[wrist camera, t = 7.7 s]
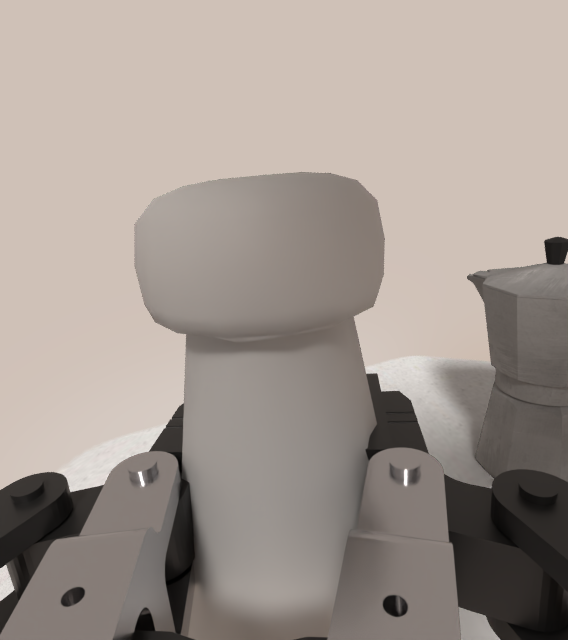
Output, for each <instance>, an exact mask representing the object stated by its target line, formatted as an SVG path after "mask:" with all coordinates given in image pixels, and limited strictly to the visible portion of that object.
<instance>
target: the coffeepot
mask: <svg viewBox="0 0 568 640" xmlns="http://www.w3.org/2000/svg"><path fill="white" fill-rule="evenodd" d="M544 243H545V251H546V259H547V263H543V264H537V265H531V266H526V267H520V268H519V267H517V268H505V269H492V270H487V271H479V272H476V273H474V274H473V275H471V274H469V275H468V276H467V279H468V280H470V281H471V282H473V283H474V285H475V286H476V288H477V290H478V292H479V294H480V296H481V297H482V299H483V301H484V304H485V312H486V322H487V331H488V340H489V349H490V358H491V365H492V366H494V367H495V368H496V375H495V382H494V385H493V389H492V393H491V397H490V401H489V405H488V408H487V412H486V416H485V420H484V424H483V428H482V432H481V436H480V440H479V444H478V448H477V451H476V455H475V458H476V459H477V461H478V462H479V463H480V464H481V465H482V467H483V468H484V469H485V470H486V471H487V472H488V473H489V474H490V475H491V476H492V477H494V478H496V477H497V476H498V475H499V474H501V473H503V472H506V471H510V470H516V469H528V470H536V471H541V472H545V473H548V474H551V475H554V476H556V477H559V478H561V479H563V480H565V481H566V482H568V264H565V263H564V261H565V258H566V255H567V252H568V239H565V238H562V237H554V238H551V239H547V240H545V241H544Z"/></svg>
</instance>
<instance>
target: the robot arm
mask: <svg viewBox="0 0 568 640" xmlns="http://www.w3.org/2000/svg"><path fill="white" fill-rule="evenodd" d="M366 376H367V380H368V385H369V390H370V394H371V399H372V403H373V408H374V412H375V417H376V422H377V425H376V426H375V428H374V430H373V431H372V433H371V435H370V437H369V443H368V448H367V449H365V450H366V454H367V457H368V460H369V463H368V467H367V473H366V478H365V484H364V490H363V495H362V501H361V507H360V512H359V518H358V524H357V529H350V531H349V534H348V537H347V542H346V547H345V552H344V557H343V562H342V568H341V573H340V578H339V583H338V588H337V593H336V598H335V603H334V608H333V613H332V618H331V623H330V628H329V633H328V637H303V638H299V639H294V640H461V633H460V622H459V610H458V607H460V608H464V609H467V610H470V611H473V612H476V613H479V614H483V615H486V617H487V620H488V622H489V624H490V626H491V628H492V629H493V631H494V632H495V633H496V635H497V636H498V637H499V638H500V639H501V640H568V482H566V481H565V480H563V479H561V478H559V477H556V476H554V475H551V474H548V473H545V472H541V471H536V470H528V469H516V470H510V471H506V472H503V473H501V474H499V475H498V476H497V477H496V478H495V479H494V481H493V483H492V489H490V488H485V487H480V486H475V485H470V484H466V483H463V482H460V481H457V480H455V479H452V478H450V477H448V476H447V475H445V474H444V471H443V467H442V466H441V464H440V463H439V461H438V460H437V459H435V458H434V457H433V456H431V455H430V454H429V453H428V450H427V447H426V444H425V441H424V438H423V435H422V433H421V430H420V427H419V424H418V421H417V418H416V415H415V413H414V409H413V406H412V403H411V400H409V399H408V398H407V397H406V396H405V395H403V394H402V393H401V392H400V391H386V392H381V389H380V384H379V380H378V375H377V373H376V374H366ZM183 418H184V404H182V405H181V406H179V408H178V409H177V411H176V412H175V414H174V415H173V417H172V420H170V421H169V422H168V424H167V425H166V428H164V430H163V431H162V433H161V434H160V436H159V437H158V439H157V440H156V442H155V443H154V445H153V446H152V448H151V449H150V451H149V452H145V453H141V454H137V455H134V456H132V457H130V458H128V459H126V460H124V461H122V462H121V463H119V464H118V465H117V466H116V467H115V468H114V469H113V470H112V471H111V473H110V474H109V476H108V478H107V480H106V482H105V484H104V485H102V486H98V487H93V488H88V489H84V490H79V491H74V492H70V490H69V486H68V482H67V479H66V477H65V476H64V475H62V474H59V473H54V472H47V473H39V474H34V475H31V476H27V477H25V478H22V479H20V480H18V481H15V482H13V483H12V484H10V485H8V486H6V487H5V488H3V489H1V490H0V568H2V567H3V566H4V565H7V568H8V571H9V574H10V577H11V580H12V583H13V586H14V589H15V590H14V591H13V592H12V593H10V594H9V595H8V596H7V597H5V598H4V599H3V600H2V601H0V640H195V639H192V638H189V637H188V633H189V626H190V619H191V612H192V604H193V597H194V590H195V573H194V563H193V560H194V558H195V551H194V535H193V519H192V507H191V496H190V485H189V482H188V481H186V480H184V479H182V448H183Z"/></svg>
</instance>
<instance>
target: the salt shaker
mask: <svg viewBox="0 0 568 640" xmlns="http://www.w3.org/2000/svg"><path fill="white" fill-rule="evenodd" d="M384 240H385V238H384V233H383V228H382V223H381V218H380V213H379V208H378V202H377V200H376V199H375V198H374V197H373V196H372V195H371V194H370V193H369V192H368V191H367V190H366V189H365V188H364V187H363V186H362V185H361V184H360V183H359V182H358V181H357V180H354V179H350V178H346V177H343V176H339V175H335V174H331V173H309V172H299V173H285V174H272V175H260V176H250V177H240V178H228V179H219V180H213V181H207V182H202V183H197V184H192V185H187V186H183V187H180V188H178V189H176V190H173V191H171V192H169V193H166V194H164V195H162V196H159V197H157V198H155V199H153V200H152V202H151V203H150V205H149V206H148V207H147V209H146V210H145V211H144V213H143V214H142V215H141V216H140V218H139V219H138V220H137V222H136V223H135V269H136V273H137V277H138V281H139V285H140V289H141V293H142V297H143V300H144V304H145V306H146V308H147V309H148V311H149V313H150V314H151V316H152V318H153V319H154V321H155V322H156V323H158V324H160V325H162V326H164V327H166V328H168V329H170V330H172V331H174V332H176V333H182V334H186V358H185V388H184V418H183V448H182V479H184V480H186V481H188V482H189V485H190V496H191V507H192V519H193V535H194V551H195V558H194V560H193V563H194V573H195V590H194V597H193V604H192V612H191V619H190V626H189V633H188V637H189V638H192V639H195V640H294V639H299V638H303V637H328V633H329V628H330V623H331V618H332V613H333V608H334V603H335V598H336V593H337V588H338V583H339V578H340V573H341V568H342V562H343V557H344V552H345V547H346V542H347V537H348V534H349V531H350V529H357V524H358V518H359V512H360V507H361V501H362V495H363V490H364V484H365V478H366V473H367V467H368V463H369V460H368V457H367V454H366V450H365V449H367V448H368V443H369V437H370V435H371V433H372V431H373V430H374V428H375V426H376V425H377V422H376V417H375V412H374V408H373V403H372V399H371V394H370V390H369V385H368V380H367V376H366V371H365V367H364V362H363V358H362V353H361V348H360V344H359V339H358V335H357V330H356V326H355V321H354V316H355V315H357V314H359V313H361V312H363V311H365V310H367V309H369V308H371V307H373V306H374V304H375V301H376V298H377V295H378V292H379V289H380V285H381V282H382V278H383V275H384Z"/></svg>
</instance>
